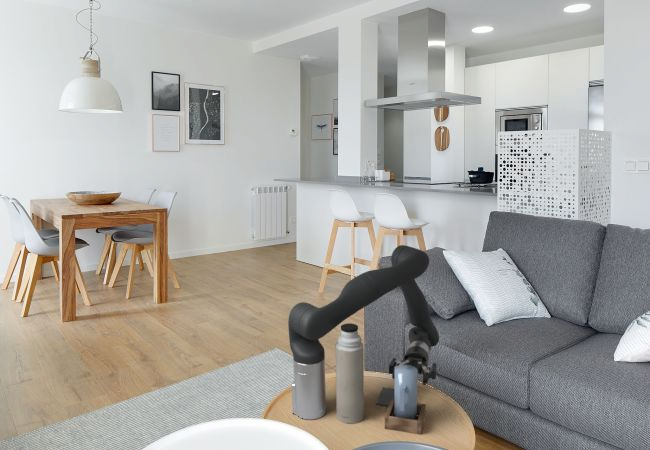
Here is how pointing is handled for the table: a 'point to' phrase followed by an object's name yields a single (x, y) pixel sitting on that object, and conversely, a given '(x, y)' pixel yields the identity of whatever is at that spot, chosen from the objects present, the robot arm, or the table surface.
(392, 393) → the mat
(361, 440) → the table surface
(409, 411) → the jug
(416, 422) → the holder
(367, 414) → the table surface
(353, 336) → the thermos bottle
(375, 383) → the table surface
